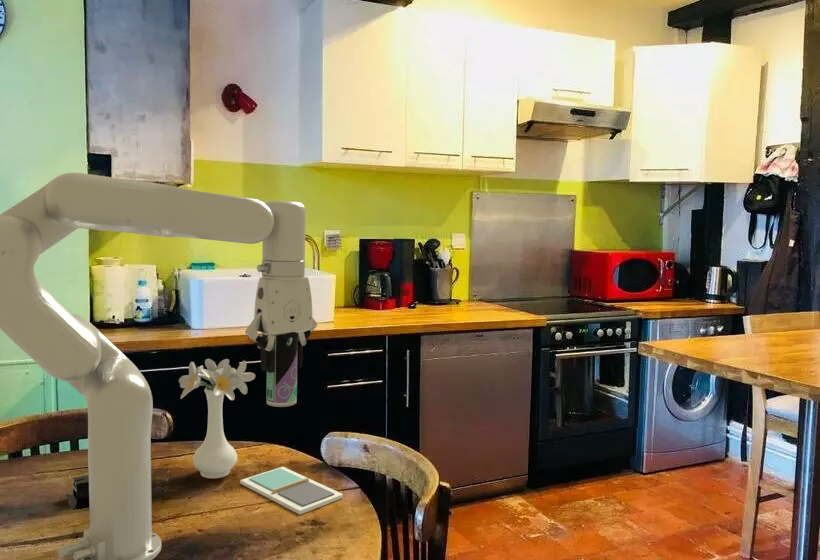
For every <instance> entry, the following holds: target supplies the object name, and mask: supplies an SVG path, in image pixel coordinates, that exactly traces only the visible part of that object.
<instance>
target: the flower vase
mask: <svg viewBox="0 0 820 560" xmlns="http://www.w3.org/2000/svg"><path fill="white" fill-rule="evenodd" d="M204 365H205V367H206V368H207V369H206V368H204ZM204 365H200V366H196V364H195V362H194V361H190V363H189V366H188V375H187V374H186V375H182V376H181V377H180V378H178V383H179V387H180V388H181V389H183V391H182V394H181V395H180V399H181V400H182V399H183V398H184V397H185V396H187V395H188V394H189V393H191V392H192V391H193V390H194V389H197V388H199V387H201V386H202V387H203V386H205V388H204V393H205V396H206V400H207V410H208V411H207V412H208V413H207V430H206V436H205V438H204V441H203V443H202V444H201V445H200V446H199V447H198V448H197V449H196V451H195V452H194V454H193V457H192V465H194V467H195V469H196V470H197V471H199V472H200V476H201V477H202V478H204V479H213V480H214V479H221V478H225V477H226V476H229V474H230V472H231V469H233V467H234V466H235V465H236V464H237V461H238V454H237V451H236V450H235V448H234V447H233V445H231V444H230V443H229V442H228V440H227V438H226V436H225V432H224V423H223V422H224V419H223V407H224V406H223V404H224V403H223V402H224V399H225V398H224V397H225V396H226V397H227V398H228V399H229V400H230V401H234V400H235V398H236V397H235V393H234V390H236V389H239V391H240V392H241V394H243V395H247V394H248V386H247V384H246V383H247V382H251V381H253V380H255V379H256V374H255V373H254V372H250V371H249V372H246V369H247V361H246V360H242V361H241V362H240V363H239V365H238V367H237V369H236V368H235V367H231V365H230V359H228V358H224V359H223V360H221V361H220V362H219V363H218V365H217V364H216V362H215V361H214V360H213V359H210V358H207V359H205V360H204ZM202 378H203V379H205V380H207V381H209V382H210V383H211V384H208V383H207V382H206V381H202Z"/></svg>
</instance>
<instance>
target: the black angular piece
mask: <svg viewBox="0 0 820 560" xmlns="http://www.w3.org/2000/svg"><path fill="white" fill-rule="evenodd" d="M72 492H73V493H68V492H66V493H67V494H66V496H67V498H68V501H69V502H70V506H71V508H70V510H71V509H72V510H75V509H77V510H75V511H79V510H78V509H80V510H83V508H85V509H89V474H86V475H81V476H77V477H76V476H75V477H73V478H72ZM70 506H69V507H70ZM72 510H71V511H72Z"/></svg>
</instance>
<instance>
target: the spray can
mask: <svg viewBox="0 0 820 560" xmlns="http://www.w3.org/2000/svg"><path fill="white" fill-rule="evenodd" d="M293 318H294V314H290V319H293ZM290 322H293V321H290ZM267 338H268V337H267ZM272 350H274V351H275V371H274V372H273V373H269V372H266V394H265V395H266V397H265V398H266V405H268V406H271V407H277V408H278V407H279V408H285V407H291V406H294V405H295V404H297V399H298V398H297V397H298V396H297V395H298V367H297V355H298V333H296V332H290V333H287V334H283V335H276V336H275V340H274V343H273V347H272Z"/></svg>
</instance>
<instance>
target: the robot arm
mask: <svg viewBox="0 0 820 560" xmlns="http://www.w3.org/2000/svg"><path fill="white" fill-rule="evenodd" d="M306 216H307V215H306V207H305V205H304V203H302V202H300V201H294V200H293V201H291V200H270V201H263V200H260V199H256V198H252V197H246V196H245V197H243V196H236V195H228V194H223V193H222V194H219V193H215V192H214V193H212V192H206V191H199V190H192V189H187V188H182V187H177V186H174V185H169V184H163V183H157V182H148V181H142V180H141V181H140V180H135V179H134V180H133V179H127V178H126V179H125V178H119V177H114V176H113V177H112V176H111V177H110V176H105V175H104V176H103V175H97V174H90V173H83V172H66V173H63V174H60V175H58V176H56V177H55V178H53V179H52V180H50V181H49V182H48V183H46V184H45V185H43V186H42V187H41V188H39V189H37V190H36V191H35V192H34V193H32V194H30V195H29V196H26V198H24V199H22V200H21V201H19V202H18V203H16V204H15V205H12V206H11V207H9V208H8V209H6V210H5V211H3V212H1V213H0V330H1V331H2V332H3V333H4V334H5V335H6V336H7V337H8V338H9V339H10V340H11V341H12V342H13V343H14V344H15V345H16V346H17V347H19V349H21V351H23V352H24V353H25V354H26V355H28V356H29V357H30V358H31V360H33V361H34V362H35V364H37V365H38V366H39V368H41V369H42V370H43V372H45V373H46V374H47V375H48V376H50V377H52V378H54V379H56V380H58V381H62V382H63V381H64V382H67V383H68V385H70V386H71V387H73V389H74V390H76V391H77V393H79V394H80V395H81V396H83V398H85V402H86V407H87V462H88V463H87V467H88V468H87V469H88V475H89V508H88V509H89V510H88V511H89V529H87V530H84V531H83V537H82V538H79V539H78V541H77V542H74V543H69V544H66V545H63V546H60V547H58V549H57V552H58V557H59V559H60V560H65V559H67V558H71V557H73V560H154V559H155V558H156V557H157V556H158V555H159V553H160V552H161V550H162V539H161V537H160V536H159V535H158V534H157V533H155V532H153V531H152V530H153V526H152V525H153V521H152V520H153V519H152V459H151V458H152V457H151V456H152V453H151V450H152V449H151V447H152V446H151V445H152V444H151V443H152V441H151V438H152V422H153V410H154V407H153V406H154V404H153V403H154V402H153V395H152V390H151V387H150V385H149V383H148V381H147V380H146V378H145V376H144V375H143V373H141V371H140V370H139V368H138V367H137V366H136V365H135V363H133V361H131V360H130V358H129V357H127V355H125V354H124V353H123V352H122V351H121V350H120V349H119V348H118V347H117V346H116V345H115V344H114V343H112V342H111V340H109V339H108V338H107V337H106V336H105V335H104V334H103V333H102V332H101V331H100V330H99V328H97V327H96V326H95V325H93V324H92V322H90V321H89V320H88V319H86V318H85V317H82V316H81V315H78V314H74V313H72V312H70V311H69V310H68V309H67V308H66V307H64V306H63V305H62V304H61V303H60V302H59V301H58V300H57V299H56V297H55V296H54V295H53V294H52V293H50V291H48V290H47V289H46V288H45V287H44V286H43V285H42V284H41V283H40V282H39V281H38V279H37V278H36V275H35V271H34V267H35V264H36V263H37V260H38V259H39V256H41V255H42V254H43V253H45V252H46V251H48V250H49V249H51V247H54V246H56V245H57V244H58V243H60V242H61V241H62V240H64V239H65V238H66V237H68V236H69V235H71V234H72V233H74V232H75V231H76V230H78V229H85V230H94V231H95V230H96V231H105V232H106V231H108V232H114V233H116V232H117V233H126V234H135V235H143V236H145V235H146V236H153V237H162V238H189V239H200V240H208V241H217V242H218V241H219V242H227V243H235V244H236V243H237V244H246V245H253V244H258V243H261V242H262V251H261V252H262V253H261V254H262V256H261V257H262V259H261V264H258V265H256V266H257V267H256V269H257V272H258V273H261V277H259V278H258V284H257V286H256V287H257V288H256V293H255V301H254V315H253V316H254V317H253V318H254V319H253V320H252V321H251V322H250V324H249V325H248V327H247V328H246V329H245V331H244V334H245V335H246V336H247V337H248V338H249V339H250V340H252V342H253V343H254V344H255V345H256V346H257V348H258V349H260V367H261V369H260V370H262V371H263V372H266V373H267V372H269V373H273V372H274V371H275V351H274V350H272V347H273V343H274V340H275V336H276V335H283V334H287V333H290V332H296V333H298V355H297V368H300V369H301V368H302V367H303V361H304V359H303V358H304V346H306V344H307V340H308V339H309V337H310V336H311V334H312V332H313V331H315V329H316V328H317V327H318V322H317V321H316V320H315V319H314V317H313V299H312V289H311V285H310V280H309V277H308V276H305V272H306V271H305V267H306V265H305V264H306V263H305V262H306ZM290 314H294V318H293V319H290ZM290 321H293V322H290ZM258 332H259V333H260V334H259V333H258ZM267 337H268V338H267Z"/></svg>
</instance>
